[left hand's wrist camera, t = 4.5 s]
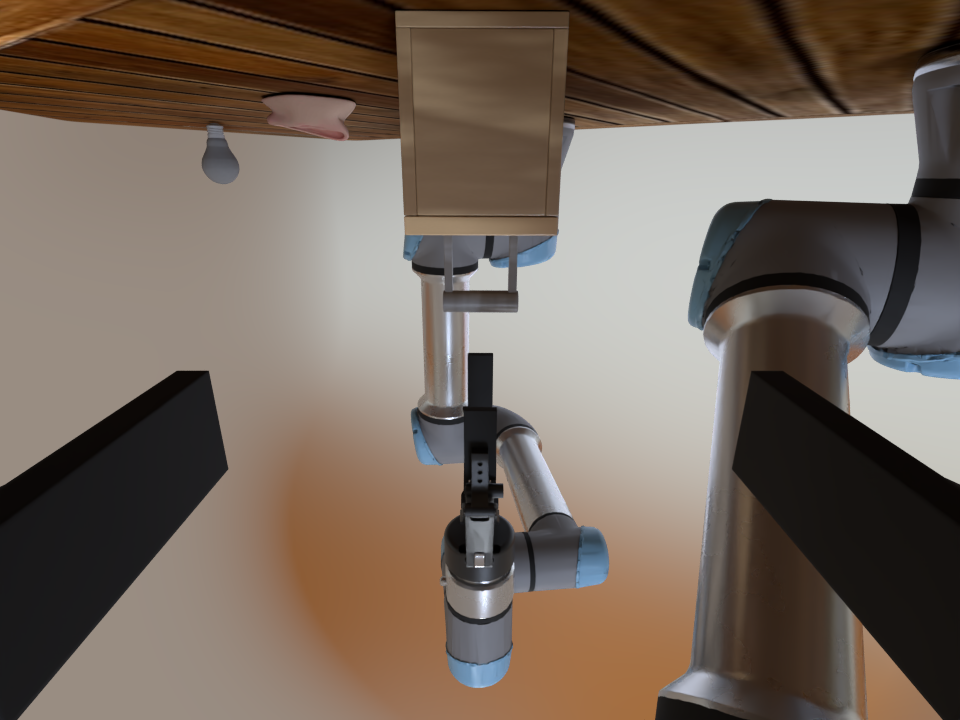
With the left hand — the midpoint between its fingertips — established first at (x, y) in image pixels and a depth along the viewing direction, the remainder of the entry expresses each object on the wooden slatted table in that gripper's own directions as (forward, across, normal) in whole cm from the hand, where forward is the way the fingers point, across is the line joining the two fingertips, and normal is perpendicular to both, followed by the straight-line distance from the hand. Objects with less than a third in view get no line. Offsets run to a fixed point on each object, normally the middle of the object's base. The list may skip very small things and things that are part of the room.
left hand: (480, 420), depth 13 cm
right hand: (+33, 0, +12) cm, 35 cm away
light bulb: (+86, +46, -14) cm, 99 cm away
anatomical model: (+59, +21, -14) cm, 64 cm away
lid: (+29, 0, -3) cm, 29 cm away
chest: (+28, 0, -14) cm, 32 cm away
